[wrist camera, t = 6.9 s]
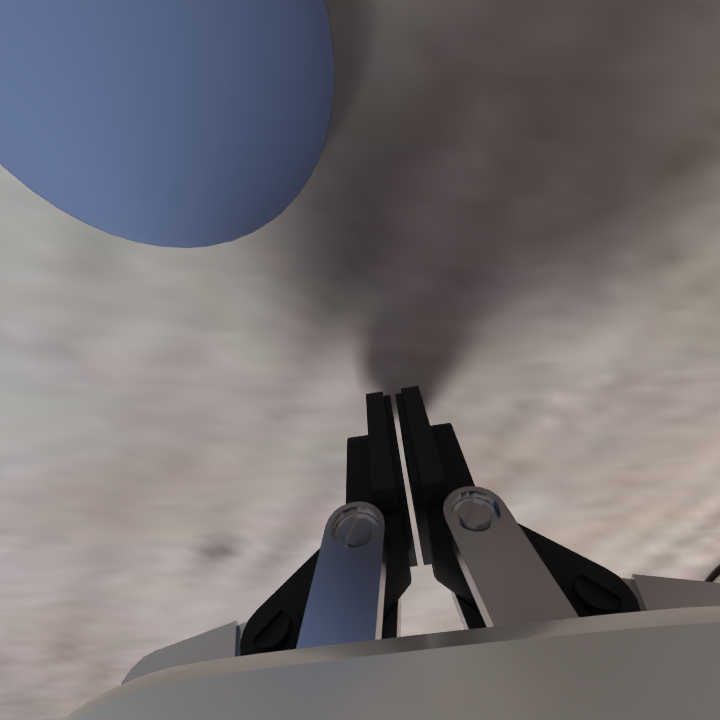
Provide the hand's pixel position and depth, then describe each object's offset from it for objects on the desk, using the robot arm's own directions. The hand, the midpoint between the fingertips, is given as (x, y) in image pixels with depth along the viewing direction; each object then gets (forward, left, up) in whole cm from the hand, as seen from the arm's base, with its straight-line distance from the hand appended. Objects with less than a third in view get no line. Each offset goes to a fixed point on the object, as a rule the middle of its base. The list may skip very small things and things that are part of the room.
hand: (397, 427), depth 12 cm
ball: (+3, -10, +2) cm, 10 cm away
